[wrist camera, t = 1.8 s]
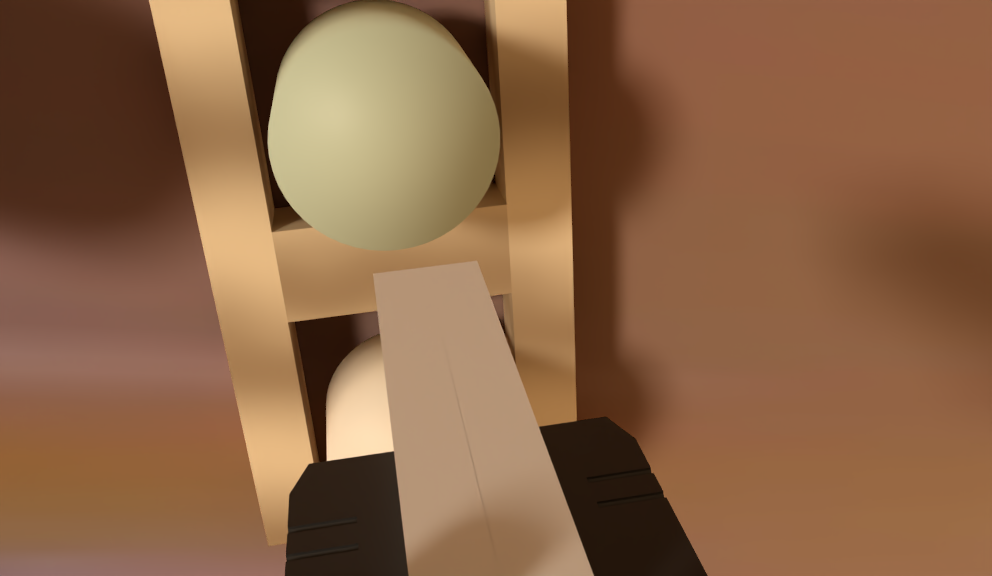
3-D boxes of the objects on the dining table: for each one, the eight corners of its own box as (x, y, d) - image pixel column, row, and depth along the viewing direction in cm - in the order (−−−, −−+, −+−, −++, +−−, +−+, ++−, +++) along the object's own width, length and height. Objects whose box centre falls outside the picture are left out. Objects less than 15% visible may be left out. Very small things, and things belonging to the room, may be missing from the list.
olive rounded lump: (258, 9, 24) (248, 38, 21) (468, -10, 25) (492, 15, 22) (291, 207, 27) (287, 263, 23) (482, 185, 28) (506, 236, 24)
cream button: (314, 339, 29) (313, 409, 25) (491, 315, 30) (514, 380, 26) (338, 482, 31) (340, 565, 28) (501, 458, 32) (523, 535, 29)
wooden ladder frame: (43, -564, 20) (16, -603, 19) (532, -571, 22) (551, -606, 20) (271, 508, 34) (268, 546, 32) (565, 463, 35) (578, 496, 33)
